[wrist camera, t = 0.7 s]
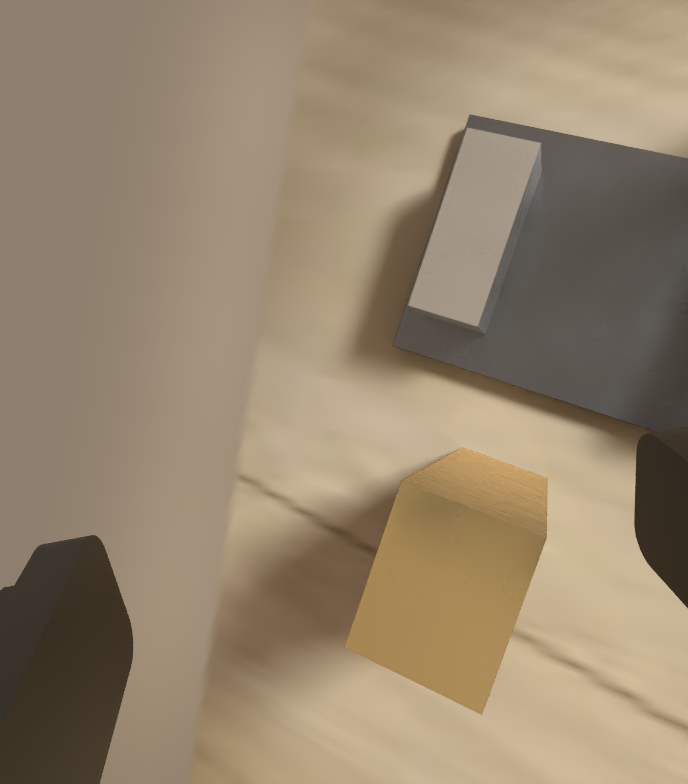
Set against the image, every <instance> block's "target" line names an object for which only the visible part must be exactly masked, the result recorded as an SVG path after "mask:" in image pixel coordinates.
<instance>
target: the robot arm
mask: <svg viewBox="0 0 688 784" xmlns="http://www.w3.org/2000/svg"><path fill="white" fill-rule="evenodd" d="M634 523H635V533H636V538H637V541H638V544H639V547H640V550H641V552H642V554H643V556H644V558H645V560H646V561H647V563H648V564H649V565H650V567H651V568H652V569H653V570H654V571H655V572H656V573H657V574H658V576H659V577H660V578H661V579H662V580H663V581H664V582H665V583H666V585H667V586H668V587H669V588H670V589H671V590H672V591H673V592H674V593H675V595H676V596H677V597H678V598H679V599H680V600H681V601H682V602H683V603H684V605H685V606H686V607H687V608H688V427H683V428H677V429H672V430H667V431H661V432H656V433H650V434H646V435H643V436H642V437H641V438H640V440H639V442H638V446H637V453H636V486H635V520H634ZM132 658H133V635H132V628H131V623H130V619H129V616H128V614H127V610H126V607H125V605H124V602H123V599H122V596H121V593H120V590H119V587H118V585H117V582H116V579H115V576H114V573H113V570H112V567H111V564H110V561H109V559H108V556H107V553H106V550H105V547H104V545H103V543H102V542H101V540H100V539H99V538H98V537H97V536H95V535H91V536H86V537H80V538H75V539H69V540H64V541H58V542H53V543H48V544H42V545H40V546H38V547H37V548H36V550H35V551H34V553H33V554H32V556H31V558H30V560H29V561H28V563H27V565H26V566H25V568H24V570H23V572H22V574H21V575H20V577H19V578H18V580H17V582H16V584H15V585H14V586H10V587H5V588H3V589H2V590H0V784H100V780H101V776H102V773H103V769H104V765H105V761H106V758H107V754H108V750H109V747H110V742H111V739H112V735H113V731H114V728H115V724H116V720H117V716H118V713H119V709H120V706H121V702H122V698H123V694H124V691H125V687H126V683H127V679H128V676H129V672H130V668H131V664H132Z"/></svg>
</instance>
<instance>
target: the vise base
mask: <svg viewBox="0 0 688 784" xmlns="http://www.w3.org/2000/svg"><path fill="white" fill-rule="evenodd" d="M393 346H396V347H399V348H402V349H405V350H408V351H411V352H414V353H417V354H420V355H423V356H426V357H429V358H432V359H435V360H438V361H441V362H445V363H448V364H451V365H454V366H457V367H460V368H463V369H466V370H469V371H472V372H475V373H478V374H481V375H484V376H487V377H491V378H494V379H497V380H500V381H503V382H506V383H509V384H512V385H515V386H518V387H521V388H524V389H527V390H530V391H533V392H536V393H540V394H543V395H546V396H549V397H552V398H555V399H558V400H561V401H564V402H567V403H570V404H573V405H576V406H579V407H582V408H585V409H589V410H592V411H595V412H598V413H601V414H604V415H607V416H610V417H613V418H616V419H619V420H622V421H625V422H628V423H631V424H634V425H638V426H641V427H644V428H647V429H650V430H653V431H656V432H661V431H667V430H672V429H677V428H683V427H688V159H687V158H682V157H677V156H672V155H667V154H662V153H657V152H652V151H647V150H642V149H638V148H633V147H628V146H623V145H618V144H613V143H608V142H603V141H598V140H593V139H588V138H583V137H578V136H573V135H568V134H563V133H559V132H554V131H549V130H544V129H539V128H534V127H529V126H524V125H519V124H514V123H509V122H504V121H499V120H494V119H489V118H484V117H479V116H475V115H469V118H468V121H467V124H466V127H465V130H464V133H463V136H462V139H461V142H460V145H459V148H458V151H457V154H456V157H455V160H454V163H453V166H452V169H451V172H450V175H449V178H448V181H447V184H446V187H445V190H444V193H443V196H442V199H441V202H440V205H439V208H438V211H437V214H436V217H435V220H434V223H433V226H432V229H431V232H430V235H429V238H428V241H427V244H426V247H425V250H424V253H423V256H422V259H421V262H420V265H419V268H418V271H417V274H416V277H415V280H414V283H413V286H412V289H411V292H410V295H409V298H408V301H407V304H406V307H405V310H404V313H403V316H402V319H401V322H400V325H399V328H398V331H397V334H396V337H395V340H394V343H393Z"/></svg>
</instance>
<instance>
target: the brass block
mask: <svg viewBox="0 0 688 784" xmlns="http://www.w3.org/2000/svg"><path fill="white" fill-rule="evenodd" d="M547 487H548V478H545V477H542V476H540V475H537V474H534V473H531V472H529V471H526V470H523V469H520V468H518V467H515V466H512V465H510V464H507V463H504V462H501V461H499V460H496V459H493V458H490V457H488V456H485V455H482V454H479V453H477V452H474V451H471V450H468V449H466V448H461V449H459V450H457V451H455V452H454V453H452V454H450V455H448V456H446V457H444V458H443V459H441V460H439V461H437V462H435V463H433V464H432V465H430V466H428V467H426V468H424V469H422V470H421V471H419V472H417V473H415V474H413V475H411V476H410V477H408V478H406V479H404V480H402V481H401V484H400V487H399V489H398V492H397V495H396V498H395V501H394V504H393V507H392V510H391V513H390V516H389V519H388V522H387V525H386V528H385V531H384V533H383V536H382V539H381V542H380V545H379V548H378V551H377V554H376V557H375V560H374V563H373V566H372V569H371V572H370V575H369V577H368V580H367V583H366V586H365V589H364V592H363V595H362V598H361V601H360V604H359V607H358V610H357V613H356V616H355V619H354V621H353V624H352V627H351V630H350V633H349V636H348V639H347V642H346V645H345V648H347V649H349V650H351V651H353V652H355V653H357V654H359V655H361V656H363V657H365V658H367V659H369V660H371V661H373V662H375V663H377V664H379V665H381V666H383V667H385V668H388V669H390V670H392V671H394V672H396V673H398V674H400V675H402V676H404V677H406V678H408V679H410V680H412V681H414V682H416V683H418V684H420V685H422V686H424V687H426V688H428V689H430V690H432V691H434V692H437V693H439V694H441V695H443V696H445V697H447V698H449V699H451V700H453V701H455V702H457V703H459V704H461V705H463V706H465V707H467V708H469V709H471V710H473V711H475V712H477V713H479V714H481V715H482V713H483V711H484V708H485V705H486V702H487V700H488V697H489V694H490V691H491V689H492V686H493V683H494V680H495V678H496V675H497V672H498V670H499V667H500V664H501V661H502V659H503V656H504V653H505V650H506V648H507V645H508V642H509V639H510V637H511V634H512V631H513V628H514V626H515V623H516V620H517V618H518V615H519V612H520V609H521V607H522V604H523V601H524V598H525V596H526V593H527V590H528V587H529V585H530V582H531V579H532V576H533V574H534V571H535V568H536V566H537V563H538V560H539V557H540V555H541V552H542V549H543V546H544V544H545V541H546V538H547Z"/></svg>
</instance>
